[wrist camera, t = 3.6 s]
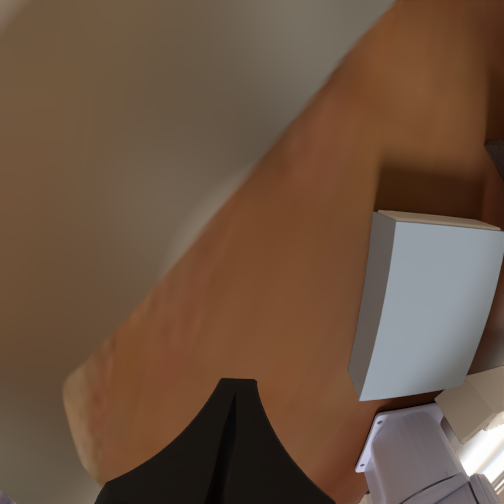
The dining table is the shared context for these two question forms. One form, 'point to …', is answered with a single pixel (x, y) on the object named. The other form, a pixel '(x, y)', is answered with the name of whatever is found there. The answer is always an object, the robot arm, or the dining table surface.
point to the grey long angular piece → (497, 153)
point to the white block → (423, 302)
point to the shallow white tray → (474, 403)
